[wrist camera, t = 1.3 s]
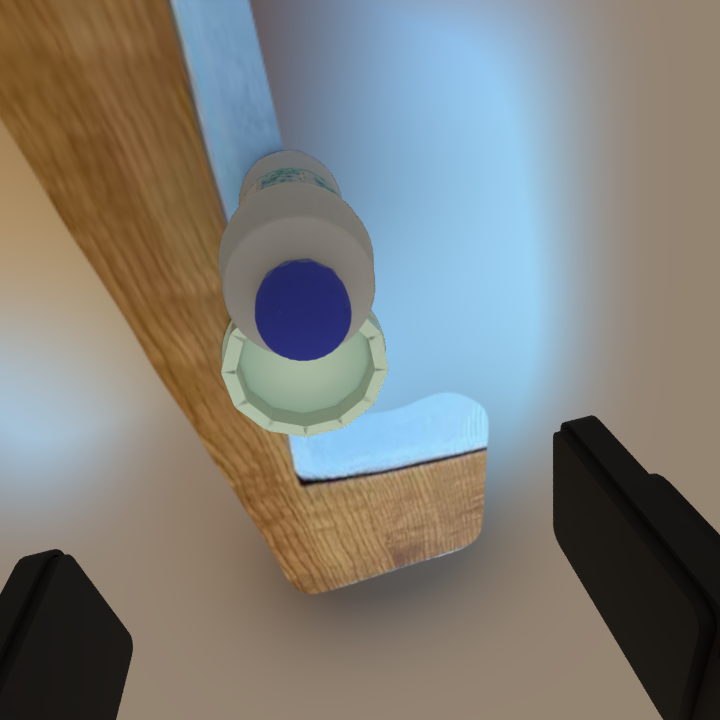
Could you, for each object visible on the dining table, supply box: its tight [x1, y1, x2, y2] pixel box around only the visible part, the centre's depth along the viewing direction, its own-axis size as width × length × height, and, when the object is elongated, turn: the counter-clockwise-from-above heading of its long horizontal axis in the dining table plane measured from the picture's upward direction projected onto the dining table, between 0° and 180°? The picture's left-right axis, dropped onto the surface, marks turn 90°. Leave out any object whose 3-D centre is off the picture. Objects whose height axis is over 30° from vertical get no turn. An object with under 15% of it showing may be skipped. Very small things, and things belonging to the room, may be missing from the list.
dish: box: [221, 310, 388, 437], centre depth 39 cm, size 13×13×2 cm
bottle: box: [219, 150, 375, 361], centre depth 25 cm, size 7×7×20 cm
